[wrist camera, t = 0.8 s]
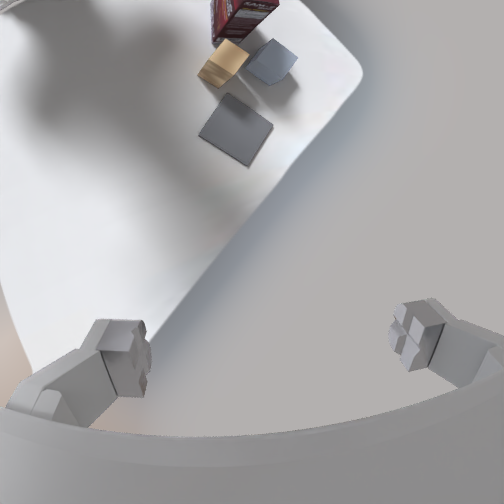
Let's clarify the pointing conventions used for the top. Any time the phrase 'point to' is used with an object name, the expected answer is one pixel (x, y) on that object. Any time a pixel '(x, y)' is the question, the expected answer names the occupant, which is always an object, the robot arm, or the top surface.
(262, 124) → the charcoal mat
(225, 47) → the oak block
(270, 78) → the blue-grey cube
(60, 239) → the top surface
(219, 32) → the supplement box
